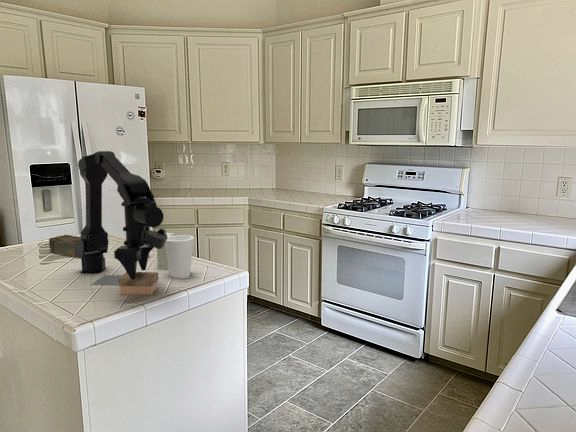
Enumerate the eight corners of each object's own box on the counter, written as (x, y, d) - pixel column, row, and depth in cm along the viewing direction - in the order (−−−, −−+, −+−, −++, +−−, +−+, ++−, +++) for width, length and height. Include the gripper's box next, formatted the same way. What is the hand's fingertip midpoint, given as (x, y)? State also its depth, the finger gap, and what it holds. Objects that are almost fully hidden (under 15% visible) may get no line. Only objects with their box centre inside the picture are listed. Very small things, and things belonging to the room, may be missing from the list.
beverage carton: (80, 259, 164) (79, 242, 163) (49, 253, 173) (47, 237, 172) (98, 254, 171) (97, 238, 170) (67, 249, 180) (65, 233, 179)
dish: (120, 295, 125) (119, 285, 125) (128, 288, 131) (127, 279, 131) (151, 296, 125) (150, 286, 125) (157, 289, 131) (157, 279, 131)
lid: (118, 286, 125) (118, 276, 124) (127, 279, 131) (126, 269, 131) (151, 286, 125) (150, 276, 124) (158, 279, 131) (158, 269, 130)
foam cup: (167, 281, 138) (166, 242, 136) (163, 273, 146) (162, 236, 144) (197, 278, 142) (196, 239, 140) (191, 270, 150) (190, 234, 148)
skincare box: (168, 271, 149) (167, 236, 147) (157, 270, 150) (155, 236, 148) (177, 266, 156) (175, 232, 154) (165, 265, 156) (164, 232, 154)
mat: (90, 286, 133) (90, 285, 133) (104, 276, 143) (104, 275, 143) (129, 286, 133) (129, 285, 133) (140, 276, 143) (140, 275, 143)
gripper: (153, 229, 115) (155, 285, 118) (172, 217, 134) (174, 265, 137) (111, 229, 116) (115, 284, 118) (136, 216, 134) (139, 265, 137)
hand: (138, 274), depth 127 cm, fingers open, 8 cm apart
